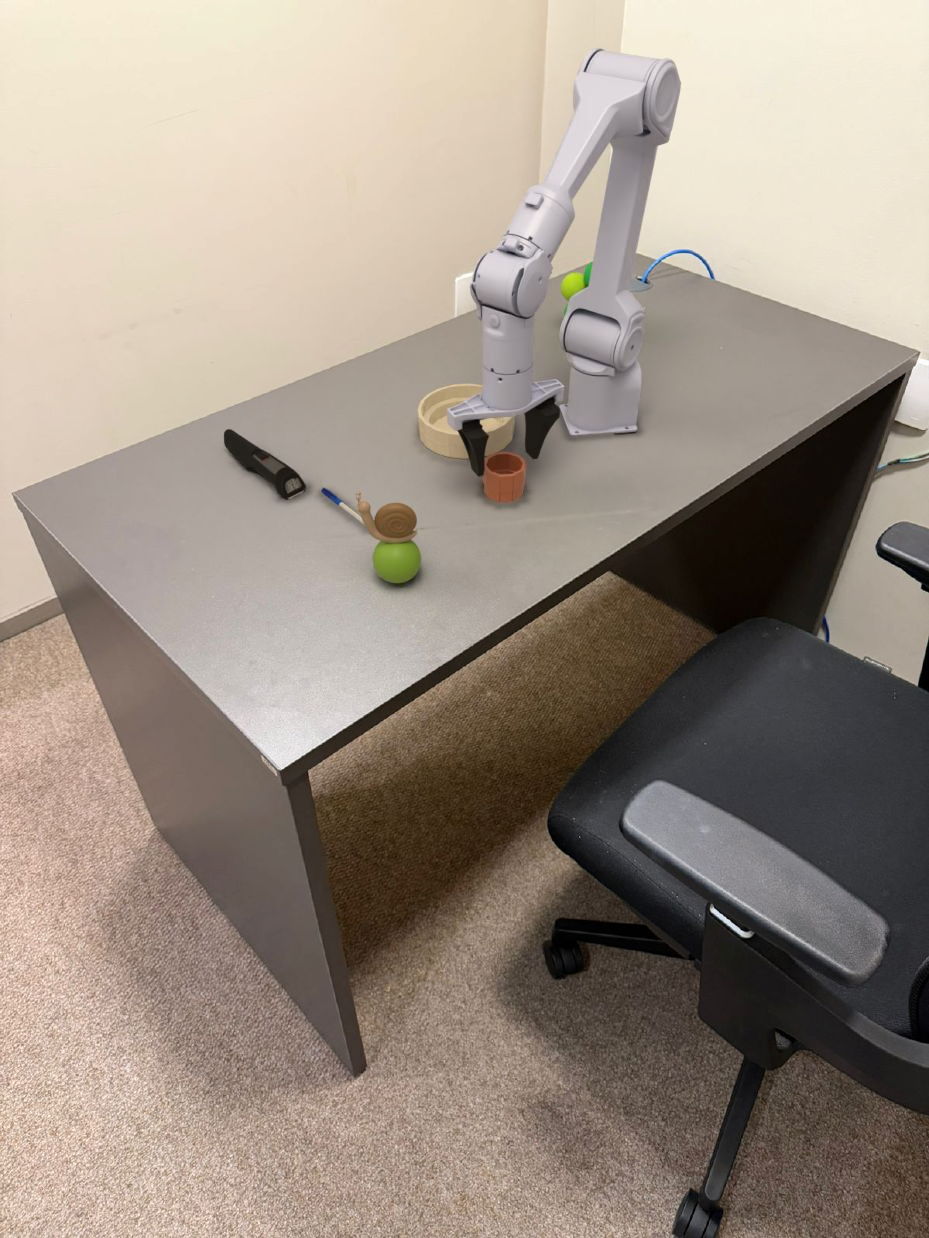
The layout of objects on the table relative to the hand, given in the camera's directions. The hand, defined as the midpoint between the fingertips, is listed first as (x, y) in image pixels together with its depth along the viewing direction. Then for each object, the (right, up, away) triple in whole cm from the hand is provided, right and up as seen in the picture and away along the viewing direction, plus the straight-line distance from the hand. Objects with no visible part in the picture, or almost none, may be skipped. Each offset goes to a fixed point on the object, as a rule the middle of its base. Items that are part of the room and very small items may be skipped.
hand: (504, 463), depth 106 cm
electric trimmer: (-32, 0, +7) cm, 32 cm away
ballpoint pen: (-20, -6, +1) cm, 20 cm away
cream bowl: (-5, +6, +13) cm, 15 cm away
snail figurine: (-13, -15, -8) cm, 21 cm away
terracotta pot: (0, -3, +3) cm, 5 cm away
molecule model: (+16, +27, +33) cm, 45 cm away
